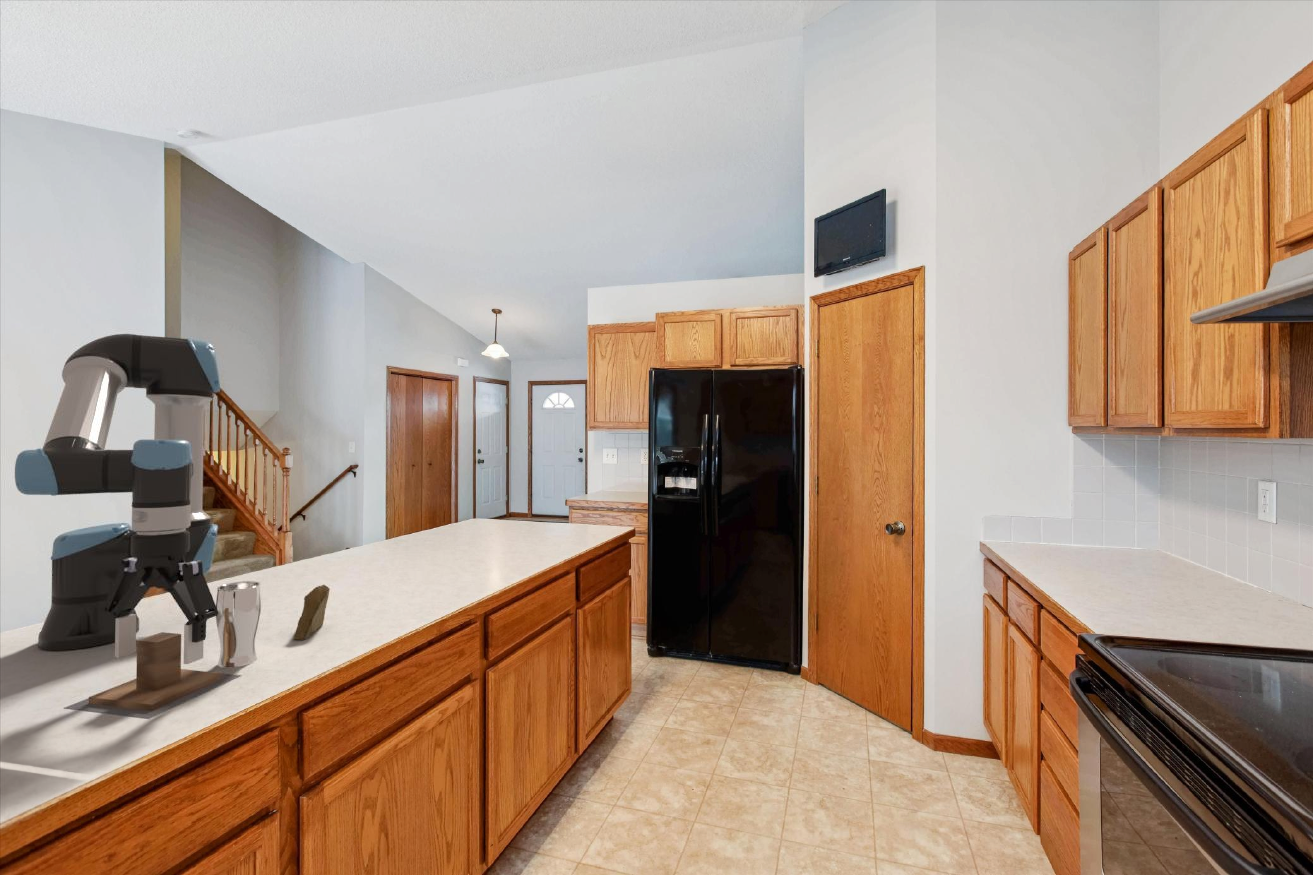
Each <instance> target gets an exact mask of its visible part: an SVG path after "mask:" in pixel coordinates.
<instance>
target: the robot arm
mask: <svg viewBox="0 0 1313 875" xmlns="http://www.w3.org/2000/svg"><path fill="white" fill-rule="evenodd" d="M61 377H62V380H63V382H64V387H63V390H62V392H61V396H60V398H59V402H58V404H57V407H56V409H55V413H54V416H53V419H52V421H51V424H50V426H49V428H48V432H47V435H46V438H45V441H44V443H43V446H42V448H37V449H25V450H23V451H21V452H20V453H19V454H17V457H16V459H15V460H16V461H15V463H14V481H15V486H16V489H17V491H18V492H19V493H21V494H23V495H27V496H28V495H29V496H33V495H34V496H35V495H36V496H37V495H38V496H43V495H44V496H53V497H55V496H63V495H67V496H68V495H87V494H115V493H117V494H118V493H131V495H132V496H131V497H132V498H131V499H132V500H131V501H132V502H131V525H130V523H128V522H121V523H108V524H101V525H95V526H88V527H83V528H79V529H75V530H70V531H66V532H64V533H62V534H59V535H58V536H57V537H56V538H55V539H54V540H53V544H52V553H51V556H50V560H51V605H50V609H49V611H48V613H47V616H46V618H45V621H44V623H43V625H42V627H41V630H40V632H39V633H38V636H37V637H38V639H37V645H38V648H39V649H40V650H45V651H68V650H70V651H71V650H80V649H85V648H91V647H92V648H93V647H96V646H102V645H107V644H110V643H114V658H115V659H116V658H117V659H118V658H119V659H120V658H122V657H125V656H128V655H130V654H134V653H137V633H138V632H139V631H140V619H139V616H138V614H137V612H136V609H135V608H136V607H137V606H138V604H140V602H141V601H142V599H143V598H144V596H145V595H146V594H147V593H148V591H149V590H150V589H151V588H157V589H163V590H164V591H165V592H167V593H169V594H170V595H171V596H172V598H173V600H174V601H175V603H176V604H177V606H178V607H179V609H180V611H182V614H183V615H184V616H185V618H186V620H188V621H186V623H184V624H183V637H184V638H183V664H184V665H189V664H192V663H195V662H196V661H200V660H202V659H204V641H206V638H207V621H208V620H210V619H212V618H214V617H215V618H216V616H217V615H218V610H217V607H216V601H215V600H214V598H213V595H212V592H211V589H210V587H209V585H208V583H207V581H206V580H207V579H206V578H205V576H206V575H207V574H208V573H209V571H210V570H211V568H212V564H213V559H214V553H215V548H216V542H217V537H218V529H219V526H218V524H215V523H211V515H209V514H207V513H206V512H205V511H204V509H203V499H204V498H203V496H204V495H203V492H204V490H203V489H204V488H203V486H204V481H203V480H204V433H205V430H204V425H205V417H204V416H205V406H206V405H208V404H209V403H210V402H212V401H213V393H216V394H217V393H219V392H220V391H221V385H220V377H219V368H218V362H217V358H216V351H215V348H214V346H213V344H211V343H210V342H208V341H203V340H196V339H190V338H178V337H168V336H167V337H165V336H154V335H153V336H151V335H143V334H142V335H141V334H135V333H134V334H133V333H117V334H111V335H107V336H103V337H100V338H97V339H94V340H92V341H91V342H89V343H88V342H87V343H86V344H84V345H82V346H81V347H80V348H77V350H75V351H74V352H73V353H72V354H71V355H70V356H68V358H67V359H66V361H65V363H64V366H63V368H62V372H61ZM125 388H133V389H134V388H135V389H144V390H145V391H146V392H145V398H147V399H148V400H149V401H151V402H152V403H153V405H154V438H153V439H138V440H137V441H134V443H133V446H132V447H133V448H132V449H105V448H106V444H107V439H108V436H109V432H110V427H111V423H112V418H113V415H114V411H115V406H116V402H117V399H118V394H120V393H121V392H123V390H124V389H125Z"/></svg>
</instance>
